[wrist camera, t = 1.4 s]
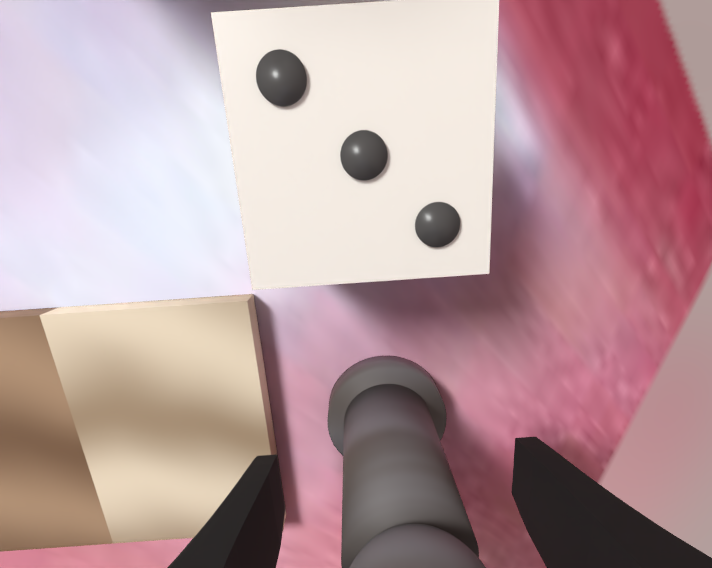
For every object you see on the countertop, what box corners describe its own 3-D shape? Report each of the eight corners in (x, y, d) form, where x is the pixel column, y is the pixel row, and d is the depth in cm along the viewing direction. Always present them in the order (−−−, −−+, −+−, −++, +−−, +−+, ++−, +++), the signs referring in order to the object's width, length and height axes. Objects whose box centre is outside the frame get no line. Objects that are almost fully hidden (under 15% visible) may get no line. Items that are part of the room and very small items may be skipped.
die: (433, 240, 12) (490, 274, 7) (290, 250, 12) (251, 290, 7) (432, 79, 11) (501, -10, 6) (271, 90, 11) (208, 10, 6)
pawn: (439, 448, 15) (575, 835, 6) (333, 456, 14) (312, 854, 6) (439, 351, 13) (608, 654, 5) (324, 359, 13) (279, 677, 5)
